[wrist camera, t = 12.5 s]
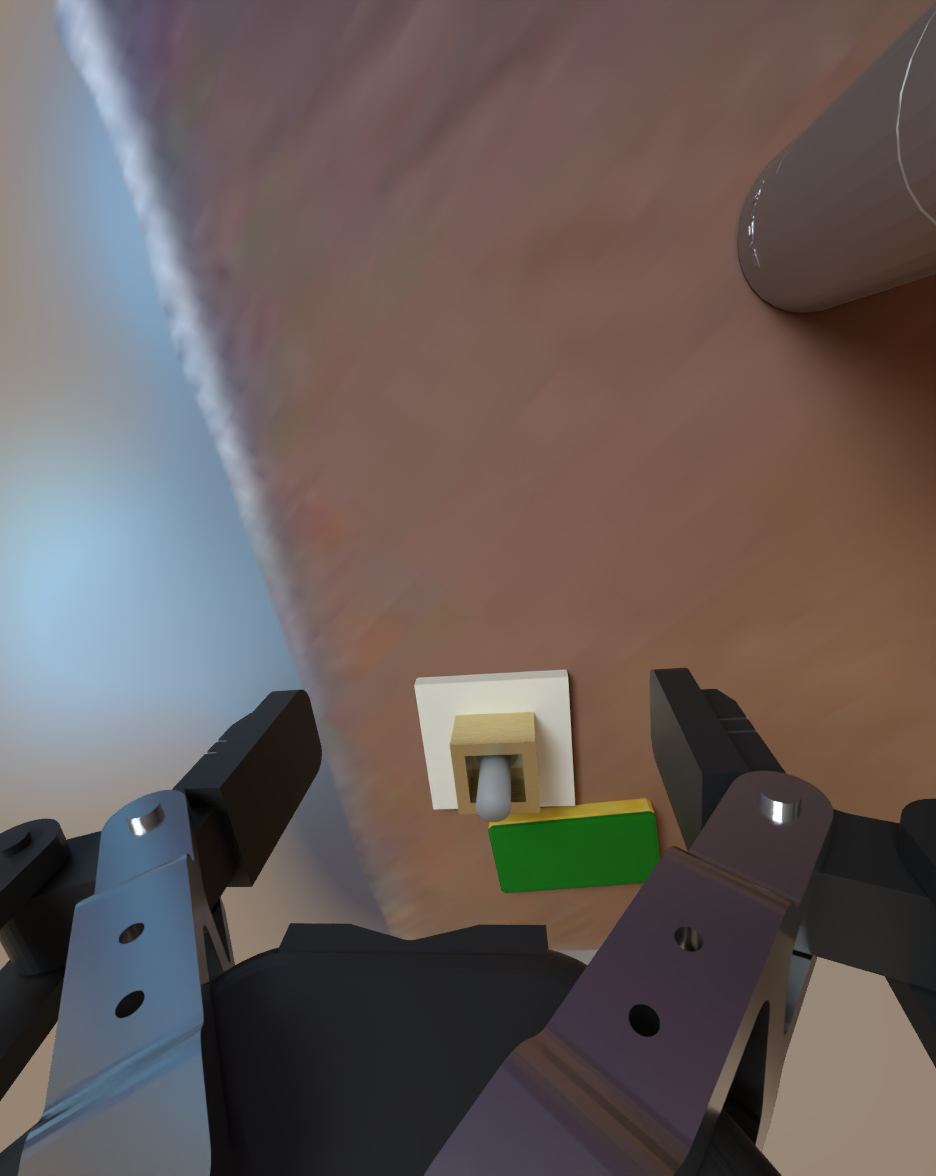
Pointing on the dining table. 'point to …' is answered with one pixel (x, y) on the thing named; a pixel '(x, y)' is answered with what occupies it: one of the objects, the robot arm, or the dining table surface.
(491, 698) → the post board
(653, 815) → the dish sponge
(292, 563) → the dining table surface
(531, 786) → the collar
